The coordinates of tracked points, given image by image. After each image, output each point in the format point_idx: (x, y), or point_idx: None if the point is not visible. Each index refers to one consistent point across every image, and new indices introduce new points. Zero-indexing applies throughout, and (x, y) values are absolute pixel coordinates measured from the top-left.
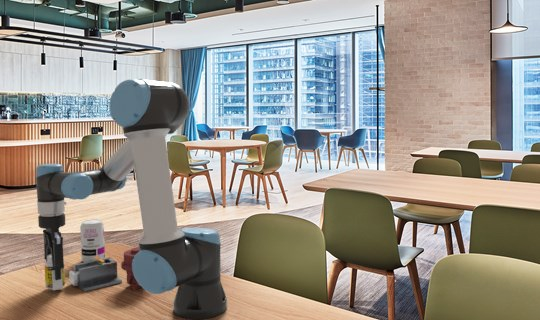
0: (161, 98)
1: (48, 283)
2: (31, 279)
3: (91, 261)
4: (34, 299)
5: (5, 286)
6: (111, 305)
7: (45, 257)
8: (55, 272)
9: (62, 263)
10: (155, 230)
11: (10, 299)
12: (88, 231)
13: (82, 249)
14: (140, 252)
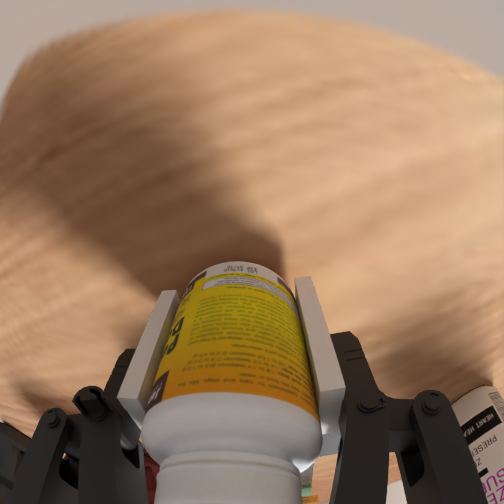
0: None
1: (189, 293)
2: (485, 203)
3: (305, 483)
4: (142, 174)
5: (465, 65)
6: (31, 387)
7: (417, 420)
8: (116, 391)
9: (64, 468)
10: None
11: (222, 39)
12: (491, 500)
13: (495, 424)
14: None
